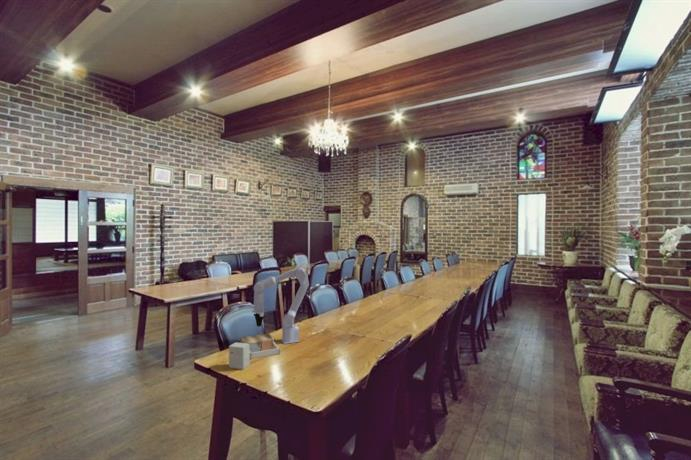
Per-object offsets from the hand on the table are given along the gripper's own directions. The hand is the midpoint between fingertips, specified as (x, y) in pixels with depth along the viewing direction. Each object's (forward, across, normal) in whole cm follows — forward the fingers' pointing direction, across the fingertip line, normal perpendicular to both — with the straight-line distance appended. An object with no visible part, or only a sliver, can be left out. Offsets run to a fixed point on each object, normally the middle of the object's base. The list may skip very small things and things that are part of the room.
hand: (258, 326), depth 194 cm
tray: (+9, +18, -2) cm, 20 cm away
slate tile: (+9, +14, -6) cm, 17 cm away
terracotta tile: (+6, +14, +1) cm, 15 cm away
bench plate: (+9, +5, -2) cm, 11 cm away
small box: (+10, +30, -16) cm, 35 cm away
